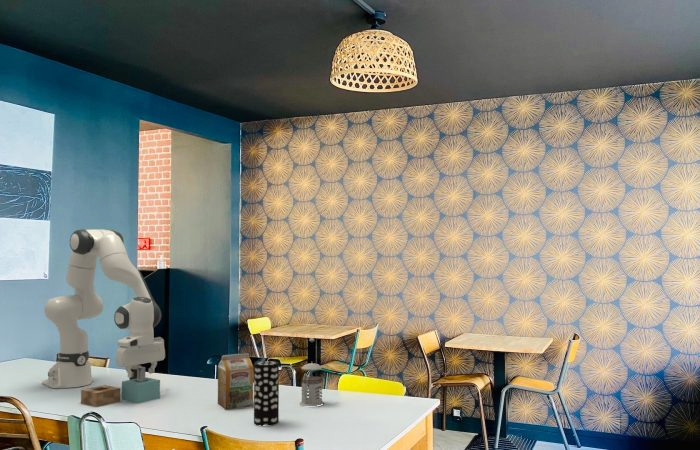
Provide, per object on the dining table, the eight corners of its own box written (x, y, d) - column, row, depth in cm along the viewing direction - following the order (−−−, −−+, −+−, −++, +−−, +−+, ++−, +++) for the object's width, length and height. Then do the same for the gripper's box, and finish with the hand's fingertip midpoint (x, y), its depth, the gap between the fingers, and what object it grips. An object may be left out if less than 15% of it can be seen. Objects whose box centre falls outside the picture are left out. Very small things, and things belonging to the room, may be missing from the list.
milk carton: (225, 410, 223) (225, 357, 224) (217, 403, 233) (218, 353, 233) (253, 406, 228) (253, 355, 229) (244, 400, 237) (244, 351, 238)
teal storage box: (121, 402, 235) (122, 381, 235) (143, 397, 243) (144, 377, 243) (137, 406, 229) (138, 384, 229) (159, 400, 237) (160, 379, 237)
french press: (328, 401, 235) (328, 336, 236) (317, 409, 224) (317, 340, 225) (305, 399, 238) (305, 335, 239) (292, 406, 227) (292, 339, 228)
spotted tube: (254, 419, 210) (255, 361, 211) (278, 418, 211) (279, 360, 212) (252, 426, 202) (253, 365, 203) (278, 425, 203) (278, 365, 203)
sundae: (137, 394, 247) (138, 357, 248) (122, 394, 248) (123, 357, 249) (146, 391, 253) (146, 354, 254) (131, 390, 255) (132, 354, 255)
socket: (80, 405, 229) (81, 389, 230) (104, 400, 237) (105, 384, 238) (96, 409, 224) (96, 393, 224) (120, 404, 232) (120, 388, 232)
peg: (135, 399, 235) (135, 367, 236) (141, 397, 238) (142, 366, 238) (139, 400, 234) (140, 368, 234) (146, 398, 236) (147, 367, 237)
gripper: (158, 335, 247) (158, 370, 247) (113, 341, 230) (113, 378, 230) (168, 336, 244) (168, 371, 243) (123, 343, 227) (123, 380, 226)
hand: (141, 375), depth 236 cm, fingers open, 8 cm apart
